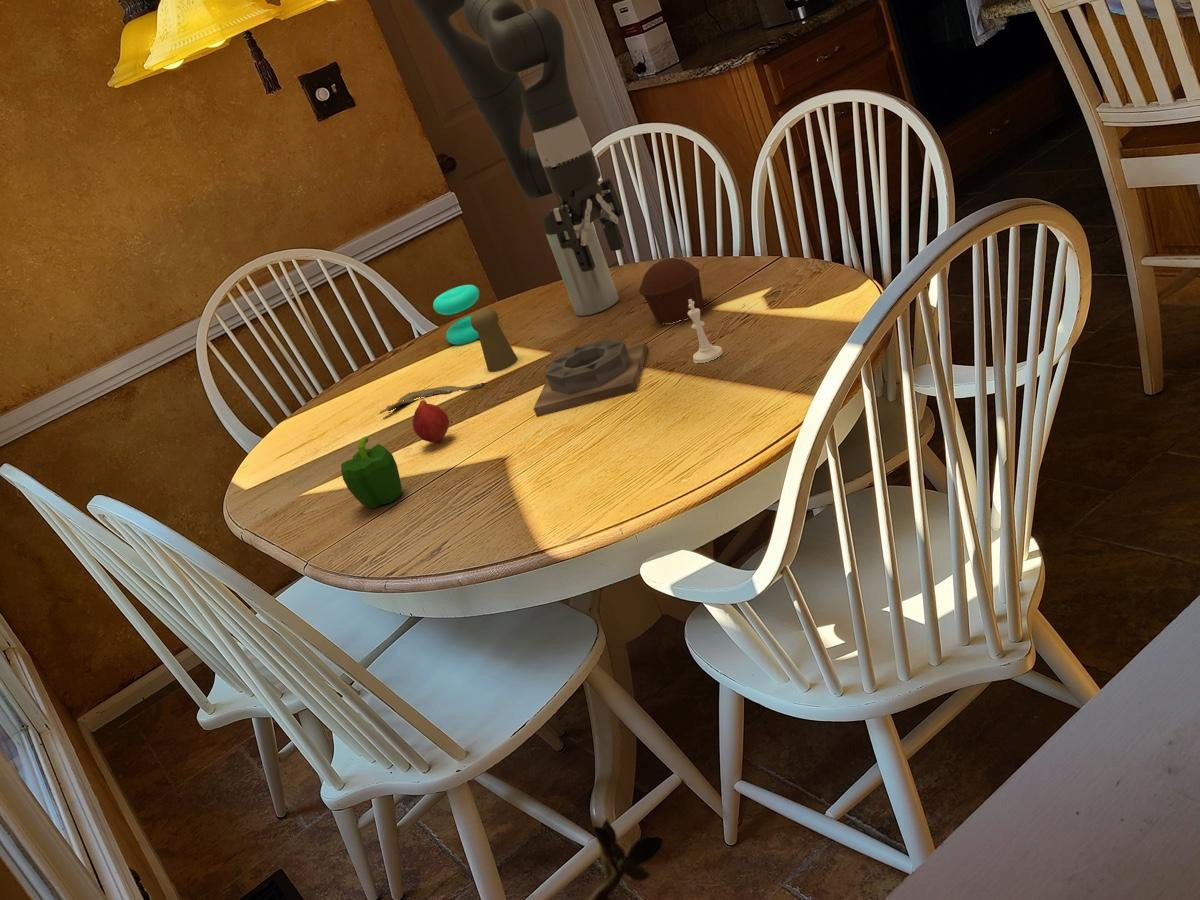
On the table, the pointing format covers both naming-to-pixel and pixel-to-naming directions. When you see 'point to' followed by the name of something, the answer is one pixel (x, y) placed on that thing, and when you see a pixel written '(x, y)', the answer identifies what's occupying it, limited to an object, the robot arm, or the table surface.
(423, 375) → the table surface
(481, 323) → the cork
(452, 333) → the donuts
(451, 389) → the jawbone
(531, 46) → the robot arm
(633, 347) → the collar socket
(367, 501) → the bell pepper
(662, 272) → the muffin
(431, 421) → the onion
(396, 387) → the table surface
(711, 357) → the chess piece
